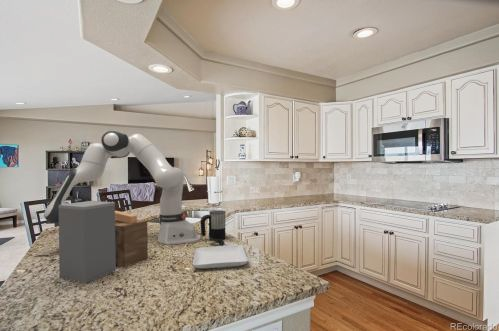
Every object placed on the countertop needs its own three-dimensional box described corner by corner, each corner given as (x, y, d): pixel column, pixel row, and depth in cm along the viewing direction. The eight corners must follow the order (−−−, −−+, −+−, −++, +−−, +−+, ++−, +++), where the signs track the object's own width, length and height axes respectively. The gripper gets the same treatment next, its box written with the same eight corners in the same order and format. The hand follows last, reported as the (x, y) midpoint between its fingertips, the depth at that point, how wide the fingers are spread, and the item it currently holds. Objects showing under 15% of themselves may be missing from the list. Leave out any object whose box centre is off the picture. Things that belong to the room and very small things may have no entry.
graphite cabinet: (59, 277, 96) (58, 205, 96) (91, 265, 107) (90, 200, 107) (85, 283, 91) (84, 207, 91) (115, 270, 101) (114, 202, 101)
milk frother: (219, 235, 151) (219, 209, 151) (237, 241, 139) (237, 212, 139) (197, 240, 141) (197, 212, 141) (215, 247, 129) (214, 216, 129)
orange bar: (94, 214, 119) (95, 208, 119) (101, 213, 122) (101, 207, 121) (130, 223, 110) (131, 216, 110) (136, 222, 113) (136, 215, 112)
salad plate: (192, 273, 99) (192, 264, 99) (195, 254, 120) (195, 247, 120) (248, 269, 102) (248, 260, 102) (242, 251, 123) (242, 244, 123)
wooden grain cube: (100, 262, 111) (99, 223, 111) (124, 253, 122) (124, 218, 122) (124, 267, 105) (124, 226, 105) (147, 257, 116) (147, 220, 116)
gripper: (59, 222, 115) (77, 207, 110) (103, 214, 134) (120, 201, 129) (64, 235, 114) (82, 221, 109) (107, 225, 132) (124, 213, 127)
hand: (103, 210), depth 119 cm, fingers closed on orange bar, 3 cm apart
